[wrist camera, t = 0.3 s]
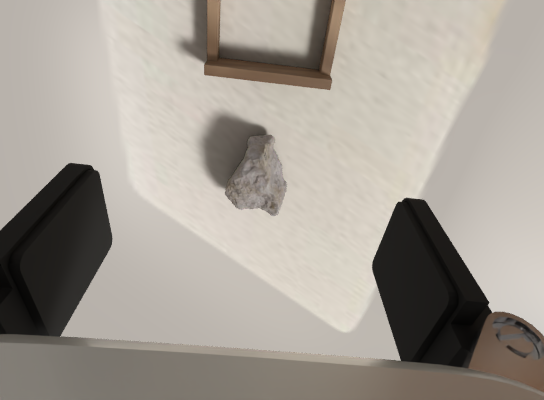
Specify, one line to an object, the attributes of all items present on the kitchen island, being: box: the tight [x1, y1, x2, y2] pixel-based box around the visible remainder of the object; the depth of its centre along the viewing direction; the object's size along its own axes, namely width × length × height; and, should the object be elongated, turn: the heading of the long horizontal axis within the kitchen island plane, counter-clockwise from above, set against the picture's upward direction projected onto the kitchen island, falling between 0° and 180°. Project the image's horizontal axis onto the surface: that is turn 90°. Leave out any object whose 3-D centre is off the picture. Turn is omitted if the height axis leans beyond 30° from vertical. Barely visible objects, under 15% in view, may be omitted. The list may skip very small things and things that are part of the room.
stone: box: [225, 135, 287, 216], centre depth 42 cm, size 8×10×6 cm
